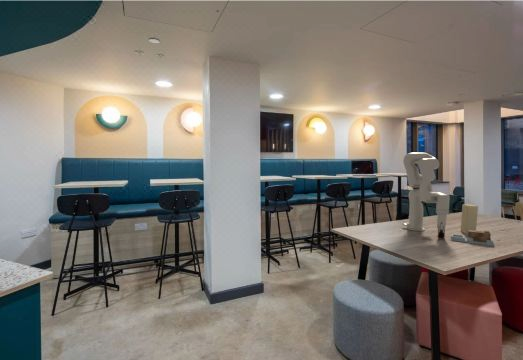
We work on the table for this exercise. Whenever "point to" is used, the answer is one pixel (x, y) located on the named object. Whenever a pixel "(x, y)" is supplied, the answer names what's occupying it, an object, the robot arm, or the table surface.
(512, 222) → the table surface
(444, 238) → the brown rectangular brick
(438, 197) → the robot arm
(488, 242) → the jig
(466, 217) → the toy refrigerator
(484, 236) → the brown tabbed block
